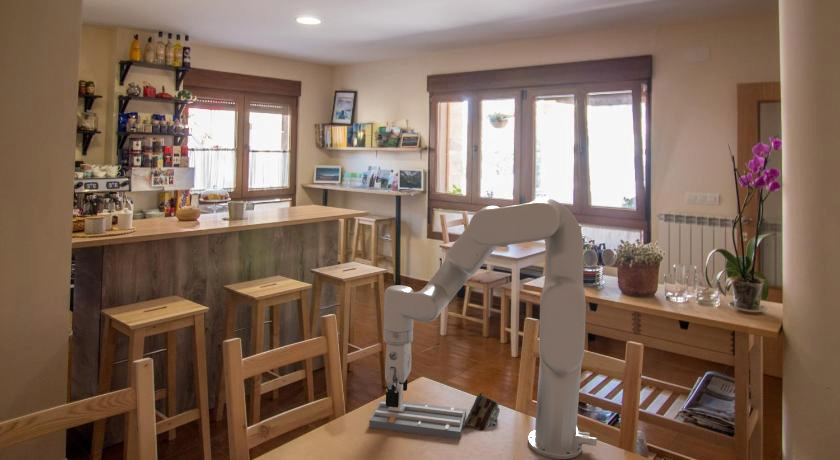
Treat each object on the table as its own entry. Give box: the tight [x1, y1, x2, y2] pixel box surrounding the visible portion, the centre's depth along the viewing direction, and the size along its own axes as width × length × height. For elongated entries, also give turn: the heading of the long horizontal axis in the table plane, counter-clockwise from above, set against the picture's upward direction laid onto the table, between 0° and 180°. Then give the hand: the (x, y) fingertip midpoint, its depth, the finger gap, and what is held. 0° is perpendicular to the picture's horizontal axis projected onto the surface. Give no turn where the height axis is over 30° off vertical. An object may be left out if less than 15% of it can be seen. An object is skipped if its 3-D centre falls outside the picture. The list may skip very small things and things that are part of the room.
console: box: [368, 398, 467, 441], centre depth 139 cm, size 23×12×3 cm, turn 79°
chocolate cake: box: [463, 388, 501, 431], centre depth 141 cm, size 10×7×12 cm
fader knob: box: [388, 383, 405, 413], centre depth 139 cm, size 4×3×7 cm
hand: (396, 397), depth 139 cm, fingers open, 9 cm apart
